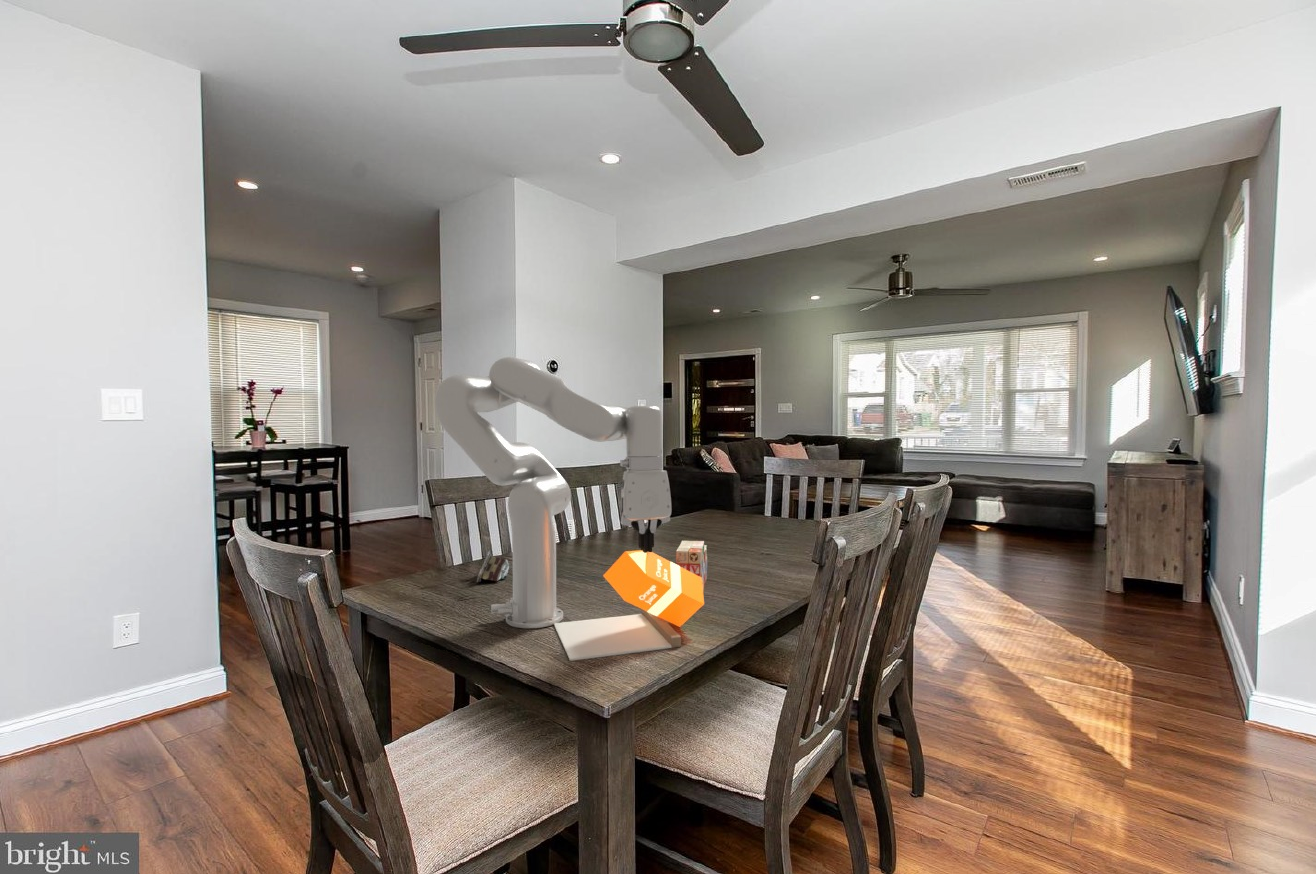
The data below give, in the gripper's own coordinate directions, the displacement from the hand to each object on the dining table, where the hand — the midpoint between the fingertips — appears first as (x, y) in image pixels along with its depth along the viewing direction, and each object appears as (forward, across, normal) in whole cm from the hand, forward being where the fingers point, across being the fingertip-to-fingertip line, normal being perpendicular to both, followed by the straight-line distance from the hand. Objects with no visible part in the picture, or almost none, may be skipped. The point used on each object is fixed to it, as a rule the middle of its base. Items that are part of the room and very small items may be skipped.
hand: (646, 551), depth 126 cm
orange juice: (+12, +10, 0) cm, 16 cm away
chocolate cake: (+18, -30, +47) cm, 59 cm away
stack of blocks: (+17, +21, +27) cm, 39 cm away
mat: (+17, -8, 0) cm, 19 cm away
